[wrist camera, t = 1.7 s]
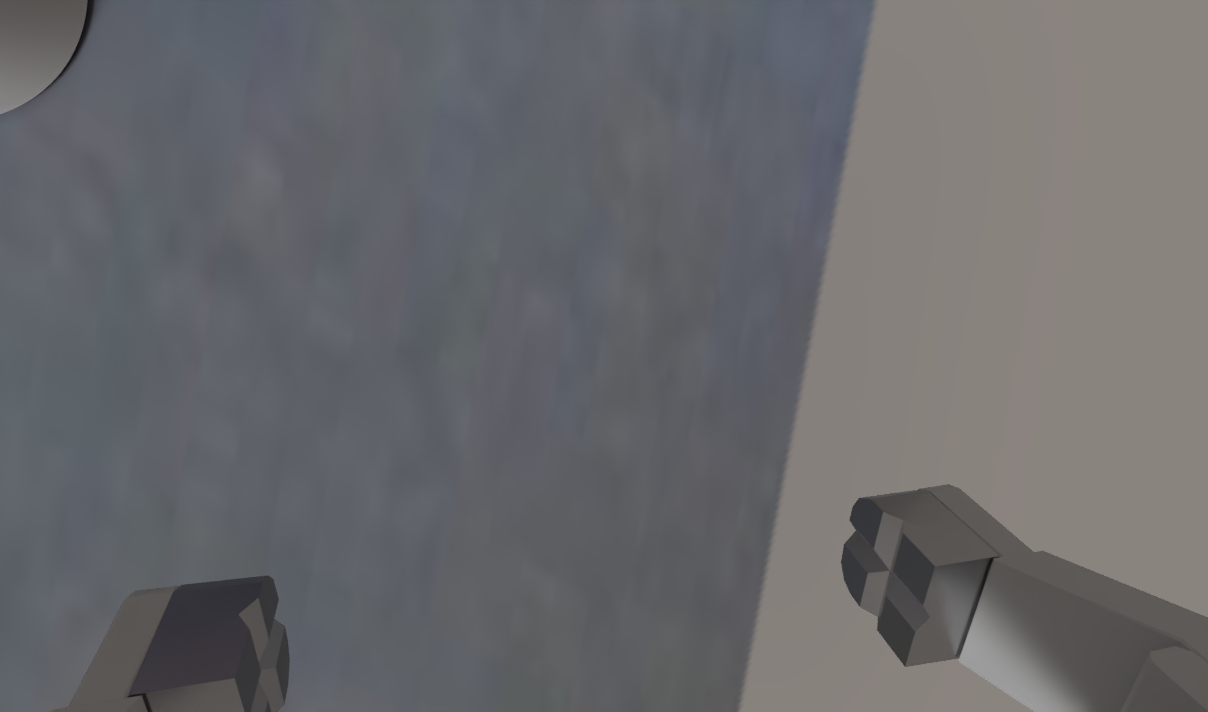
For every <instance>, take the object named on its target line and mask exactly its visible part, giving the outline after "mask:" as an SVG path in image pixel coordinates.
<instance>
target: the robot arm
mask: <svg viewBox="0 0 1208 712" xmlns="http://www.w3.org/2000/svg"><path fill="white" fill-rule="evenodd" d="M86 10H87V0H0V114H2V113H5V112H7V111H10V110H12V109H15V108H17V107H19V106H21V105H23V104H24V103H26V102H28V101H29V100H31V99H33V98H34V97H35V96H37V95H38V94H39V93H41V92H42V91H43V90H44V89H45V88H47V87H48V86H49V85H50V84H51V83H52V82H53V81H54V80H55V79H56V78H57V77H58V75H59V74H60V73H61V72H62V70H63V69H64V68H65V66H66V64H67V63H68V61H69V60H70V58H71V56H72V54H73V53H74V51H75V49H76V46H77V44H78V41H79V39H80V36H81V33H82V30H83V26H84V22H85V17H86ZM850 521H851V523H852V525H853V526H854V528H855V529H856V531H855V532H854V534H853V535H852V536H851V537H850V538H849V539H848V540H847V541H846V543H845V544H844V548H843V554H842V561H841V564H842V570H843V575H844V581H845V583H846V585H847V587H848V589H849V592H850V593H851V595H852V597H853V598H854V599H855V601H856V602H857V604H858V605H859V606H860V607H861V608H863V609H865V610H866V611H869V612H870V613H872V614H874V615H876V616H877V617H878V627H877V630H878V632H879V633H880V634H881V636H882V637H883V638H884V640H885V641H886V642H887V644H888V645H889V646H890V648H891V649H892V650H893V652H895V654H896V655H897V657H898V658H899V659H900V661H901V662H902V663H903V665H904V666H905V667H908V666H914V665H920V664H926V663H932V662H938V661H945V660H950V659H957V658H959V662H960V663H962V664H963V665H965V666H966V667H968V668H969V669H971V670H972V671H974V672H975V673H977V674H978V675H980V676H981V677H983V678H984V679H986V680H987V681H989V682H990V683H992V684H993V685H995V686H996V687H998V688H999V689H1001V690H1002V691H1004V692H1006V693H1007V694H1008V695H1010V696H1011V697H1013V698H1014V699H1016V700H1017V701H1019V702H1020V703H1022V704H1023V705H1025V706H1027V707H1028V708H1029V709H1031V710H1032V711H1034V712H1208V617H1205V616H1203V615H1200V614H1198V613H1195V612H1193V611H1190V610H1188V609H1185V608H1183V607H1180V606H1178V605H1175V604H1173V603H1170V602H1168V601H1165V600H1163V599H1161V598H1158V597H1156V596H1153V595H1151V594H1148V593H1146V592H1143V591H1140V590H1138V589H1136V588H1133V587H1131V586H1128V585H1126V584H1123V583H1121V582H1118V581H1115V580H1114V579H1111V578H1109V577H1106V576H1104V575H1101V574H1099V573H1096V572H1094V571H1091V570H1089V569H1086V568H1084V567H1081V566H1079V565H1076V564H1074V563H1072V562H1069V561H1066V560H1064V559H1062V558H1059V557H1057V556H1054V555H1052V554H1049V553H1047V552H1044V551H1039V552H1033V551H1032V550H1031V549H1030V548H1028V547H1027V546H1026V545H1025V544H1024V543H1022V542H1021V541H1020V540H1019V539H1018V538H1017V537H1015V536H1014V535H1013V534H1012V533H1011V532H1010V531H1009V530H1007V529H1006V528H1005V527H1004V526H1003V525H1002V524H1000V523H999V522H998V521H997V520H996V519H995V518H993V517H992V516H991V515H990V514H989V513H987V512H986V511H985V510H984V509H983V508H982V507H980V506H979V505H978V504H977V503H976V502H975V501H973V500H972V499H971V498H970V497H969V496H968V495H967V494H965V493H964V492H963V491H962V490H961V489H959V488H957V487H954V486H951V485H949V484H948V485H941V486H935V487H928V488H922V489H918V490H913V491H906V492H899V493H891V494H884V495H877V496H871V497H863V498H859V499H858V500H857V502H856V503H855V505H854V506H853V508H852V512H851V516H850ZM278 600H279V598H278V595H277V591H276V587H275V584H274V580H273V579H272V578H271V577H270V576H258V577H249V578H240V579H231V580H222V581H213V582H204V583H195V584H185V585H181V586H174V587H165V588H156V589H147V590H138V591H135V592H133V593H132V594H131V595H129V596H128V597H127V598H126V599H125V600H124V601H123V603H122V605H121V607H120V609H119V611H118V613H117V615H116V617H115V619H114V620H113V622H112V624H111V626H110V628H109V630H108V632H107V634H106V636H105V638H104V639H103V641H102V643H101V645H100V647H99V649H98V651H97V653H96V655H95V657H94V658H93V660H92V662H91V664H90V666H89V668H88V670H87V672H86V674H85V676H84V677H83V679H82V681H81V683H80V685H79V687H78V689H77V691H76V693H75V695H74V697H73V698H72V700H71V702H70V704H69V706H68V707H66V708H60V709H54V710H52V711H50V712H278V711H279V710H280V709H281V708H282V707H283V705H284V704H285V698H286V693H287V688H288V679H289V660H290V659H289V647H288V639H287V634H286V629H285V626H284V625H283V624H281V623H280V622H278V621H277V620H275V619H274V617H275V613H276V609H277V605H278Z"/></svg>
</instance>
